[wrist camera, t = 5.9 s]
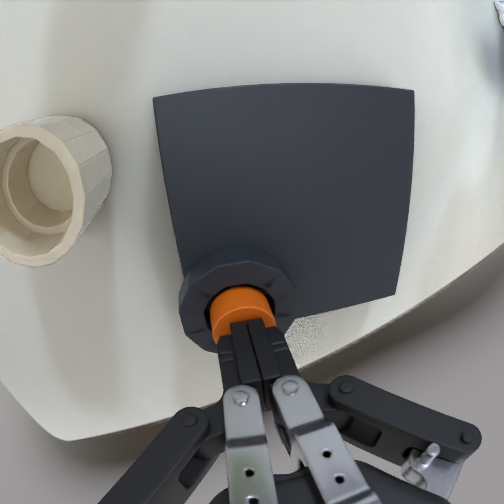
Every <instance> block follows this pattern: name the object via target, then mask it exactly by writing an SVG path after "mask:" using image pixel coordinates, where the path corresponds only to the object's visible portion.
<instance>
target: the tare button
mask: <svg viewBox="0 0 504 504" xmlns="http://www.w3.org/2000/svg"><path fill="white" fill-rule="evenodd" d="M260 317H262V319H263V322H264V324H265V327H266V328H267V327H272V326H276V322H275V319H274V316H273V314H272V311H271V308H270V306H269V303H268V301H267V299H266V297H265V295H264V294H263V293H262V292H260V291H259V290H257V289H255V288H252V287H249V286H236V287H231V288H229V289H226V290H224V291H223V292H221V293H220V294H219V295H218V296H217V297H216V298H215V299H214V300H213V302H212V304H211V307H210V320H211V327H212V335H213V339H214V341H215V343H216V344H217V342H218V340H219V337H220V336H224V335H230V334H231V331H230V325H229V323H233V322H238V321H244V320H245V322H246V320H249V319H254V318H260ZM246 326H247V325H246Z"/></svg>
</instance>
